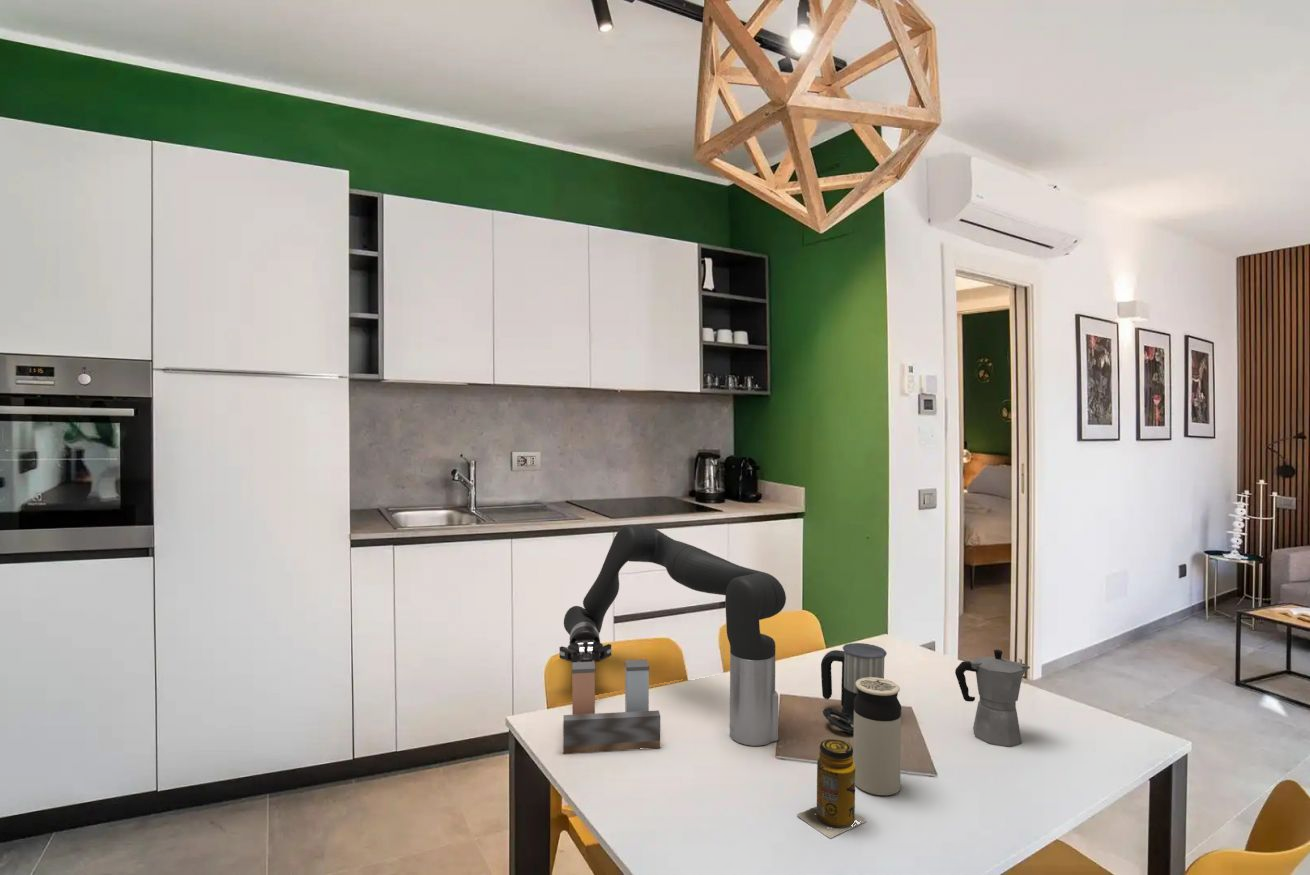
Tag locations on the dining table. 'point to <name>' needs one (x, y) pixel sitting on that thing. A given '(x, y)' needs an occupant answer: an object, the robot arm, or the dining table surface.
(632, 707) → the grey tall block
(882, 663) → the milk frother
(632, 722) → the base
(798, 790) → the dining table surface
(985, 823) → the dining table surface
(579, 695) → the orange-brown tall block
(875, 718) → the travel mug
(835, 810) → the condiment
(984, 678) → the coffeepot
